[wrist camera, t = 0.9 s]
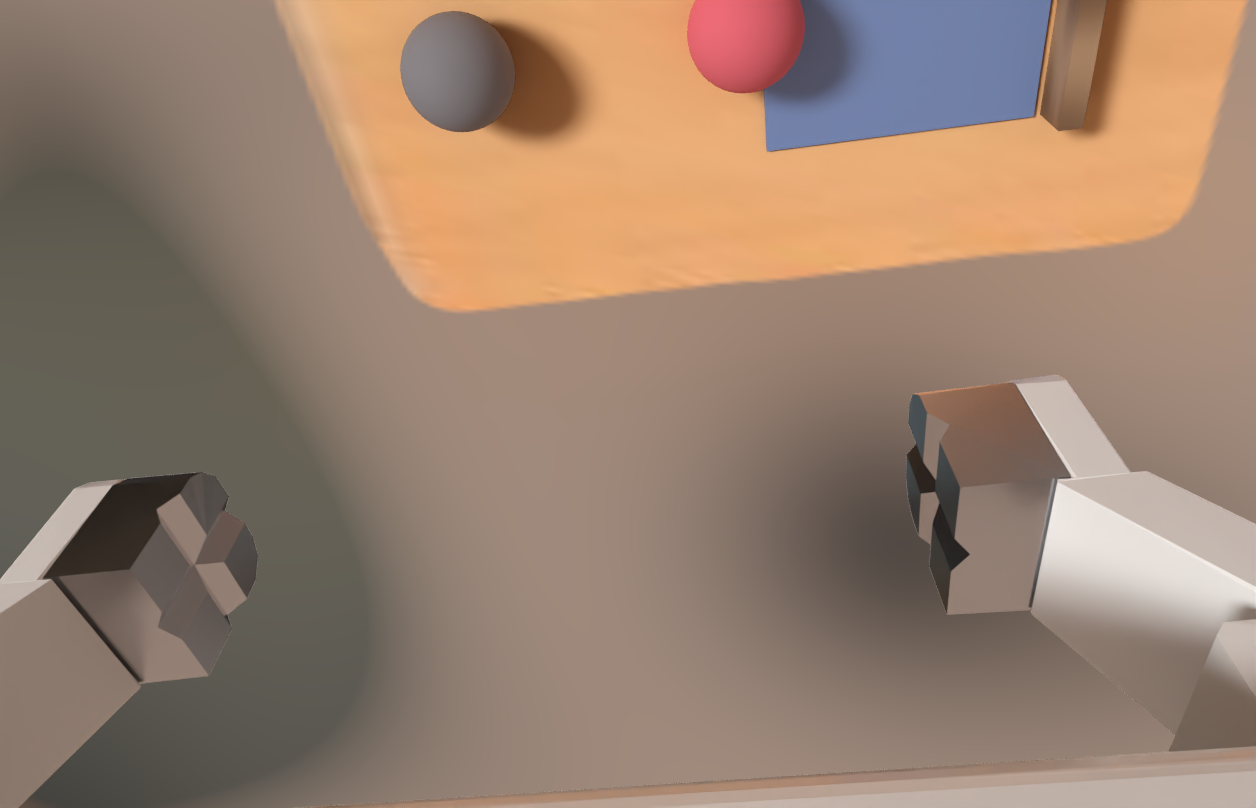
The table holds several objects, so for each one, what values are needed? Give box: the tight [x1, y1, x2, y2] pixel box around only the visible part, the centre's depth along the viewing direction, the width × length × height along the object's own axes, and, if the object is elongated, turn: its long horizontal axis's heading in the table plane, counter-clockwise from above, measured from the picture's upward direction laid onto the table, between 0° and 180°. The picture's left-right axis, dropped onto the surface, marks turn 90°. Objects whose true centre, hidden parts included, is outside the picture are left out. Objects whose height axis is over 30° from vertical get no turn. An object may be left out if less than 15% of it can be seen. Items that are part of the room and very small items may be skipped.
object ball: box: [687, 0, 805, 93], centre depth 40 cm, size 6×6×6 cm
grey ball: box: [400, 11, 515, 132], centre depth 41 cm, size 6×6×6 cm
